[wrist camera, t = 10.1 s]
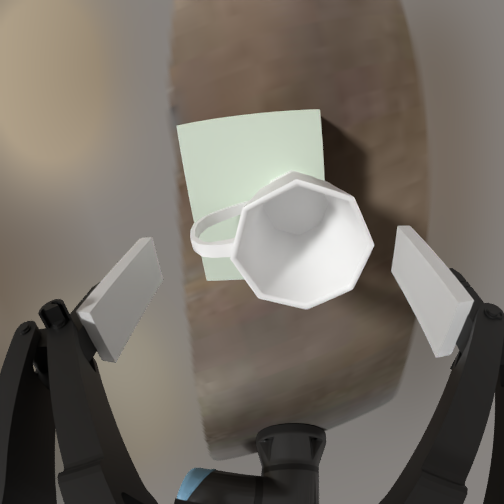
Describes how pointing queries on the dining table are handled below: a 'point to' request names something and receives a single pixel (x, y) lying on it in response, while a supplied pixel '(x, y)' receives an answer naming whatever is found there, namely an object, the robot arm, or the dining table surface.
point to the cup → (293, 240)
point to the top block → (244, 166)
